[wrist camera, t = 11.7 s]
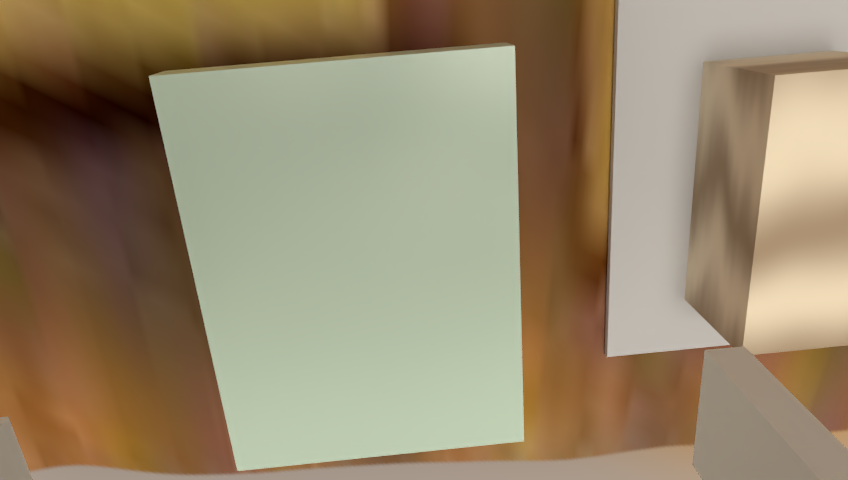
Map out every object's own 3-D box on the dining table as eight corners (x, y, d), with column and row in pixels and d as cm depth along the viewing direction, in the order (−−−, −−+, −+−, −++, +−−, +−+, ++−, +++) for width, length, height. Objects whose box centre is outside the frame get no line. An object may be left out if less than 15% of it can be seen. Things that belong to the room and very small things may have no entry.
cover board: (164, 71, 22) (148, 76, 21) (505, 42, 22) (515, 45, 21) (245, 445, 28) (237, 471, 26) (516, 417, 28) (524, 441, 27)
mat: (615, -3, 28) (618, -2, 28) (924, -28, 28) (931, -28, 28) (604, 353, 34) (606, 357, 34) (856, 327, 35) (861, 331, 34)
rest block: (703, 61, 29) (775, 75, 24) (832, 50, 29) (932, 61, 24) (684, 299, 33) (741, 355, 28) (797, 288, 33) (874, 342, 28)
